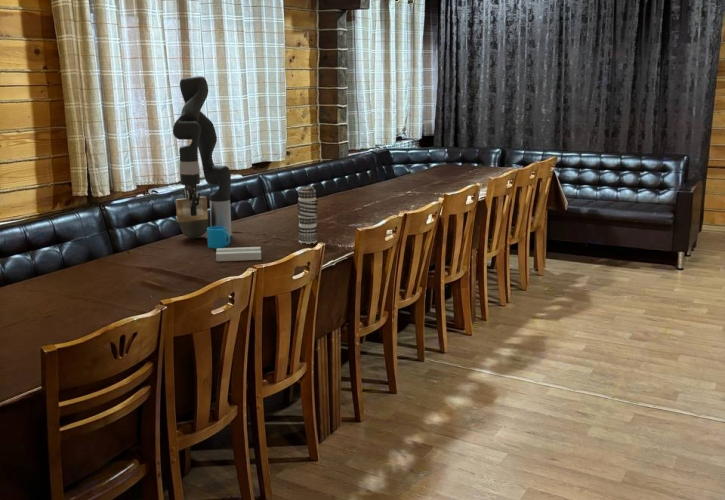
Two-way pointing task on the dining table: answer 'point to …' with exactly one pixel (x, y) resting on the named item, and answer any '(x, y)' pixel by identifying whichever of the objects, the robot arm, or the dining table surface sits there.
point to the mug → (217, 237)
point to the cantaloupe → (194, 228)
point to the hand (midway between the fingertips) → (192, 214)
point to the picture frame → (185, 210)
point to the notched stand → (238, 254)
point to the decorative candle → (307, 215)
